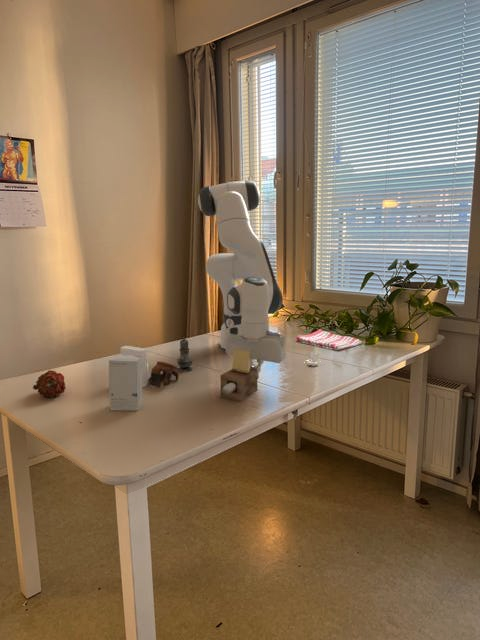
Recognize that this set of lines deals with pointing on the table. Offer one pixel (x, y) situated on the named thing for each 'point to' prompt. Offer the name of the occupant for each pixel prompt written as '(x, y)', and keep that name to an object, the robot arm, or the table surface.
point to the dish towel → (328, 340)
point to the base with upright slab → (144, 366)
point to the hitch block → (240, 384)
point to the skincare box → (125, 383)
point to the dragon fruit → (50, 384)
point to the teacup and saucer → (313, 359)
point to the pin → (232, 386)
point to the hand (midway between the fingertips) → (255, 371)
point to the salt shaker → (184, 357)
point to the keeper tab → (241, 361)
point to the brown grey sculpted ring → (165, 377)
